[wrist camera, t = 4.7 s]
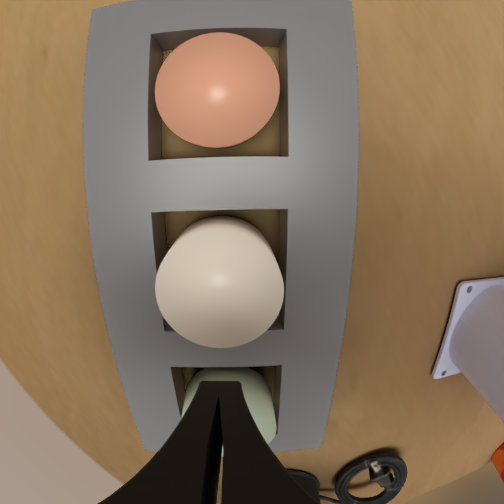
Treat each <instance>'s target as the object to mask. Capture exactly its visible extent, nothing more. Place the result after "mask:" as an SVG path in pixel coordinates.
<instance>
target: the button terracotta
mask: <svg viewBox="0 0 504 504" xmlns="http://www.w3.org/2000/svg"><path fill="white" fill-rule="evenodd" d="M279 93H280V82H279V76H278V72H277V69H276V67H275V65H274V63H273V61H272V59H271V58H270V56H269V55H268V54H267V53H266V52H265V51H264V50H263V49H262V48H261V47H260V46H259V45H258V44H256V43H255V42H253V41H251V40H250V39H248V38H245V37H243V36H240V35H236V34H232V33H224V32H216V33H208V34H203V35H199V36H197V37H194V38H192V39H190V40H187V41H186V42H184V43H183V44H181V45H179V46H178V47H177V48H176V49H175V50H173V52H172V53H171V54H170V55H169V56H168V57H167V58H166V60H165V61H164V63H163V64H162V66H161V68H160V70H159V73H158V75H157V79H156V83H155V101H156V106H157V109H158V111H159V114H160V116H161V118H162V120H163V121H164V122H165V124H166V125H167V126H168V127H169V129H170V130H171V131H172V132H174V133H175V134H176V135H177V136H179V137H180V138H182V139H184V140H186V141H188V142H190V143H193V144H196V145H200V146H203V147H207V148H215V149H222V148H230V147H234V146H237V145H240V144H242V143H244V142H246V141H248V140H249V139H251V138H252V137H253V136H254V135H256V134H257V133H258V132H259V131H260V130H261V129H262V128H263V127H264V125H265V124H266V123H267V122H268V121H269V119H270V118H271V116H272V115H273V113H274V111H275V109H276V106H277V103H278V99H279Z"/></svg>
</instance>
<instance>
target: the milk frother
mask: <svg viewBox="0 0 504 504" xmlns="http://www.w3.org/2000/svg"><path fill="white" fill-rule="evenodd" d="M389 467H390V468H392V469H393V471H394V475H395V477H394V478H393V474H392V473H390V469H389ZM367 468H369V475H370V480H371V481H376V482H377V483H378V484H380V486H381V487H384V488H385V490H384V491H382V492H381V493H380V494H379V495H377V496H374V497H369V498H359V497H355V496H353V495H351V494H350V493H349V492H348V490H347V487H348V484H349V482H350V481H351V480H352V479H353V477H354V476H355V475H357V474H358V473H360V472H361V471H363V470H365V469H367ZM287 471H288V472H289V473H290V475H291V476H292V477H293V478H294V479H295V480H296V481H297V482H298V483H299V484H300V485H301V486H302V487H303V488H304V489H305V490H306V491H307V492H308V493H309V494H310V495H311V496H312V497H313V498H314V499H315V500H317V501H318V502H319V503H320V499H322V500H327V501H330V502H333V503H335V504H386V503H388V502H389V501H391V500H392V499H393V498H394V497H395V496H396V495H397V494H398V493H399V492H400V490H401V489H402V487H403V486H404V483H405V481H406V477H407V467H406V464H405V462H404V461H403V460H402V458H400V457H399V456H397V455H394V454H389V453H384V454H376V455H372V456H368V457H366V458H363V459H361V460H358V461H357V462H355V463H353V464H351V465H350V466H348V467H347V468H345V469H344V470H343V471H342V473H341V474H340V475H339V477H338V478H337V481H336V485H335V493H336V495H337V497H338V499H339V500H340V501H339V500H335V499H332V498H329V497H325V496H321V495H319V492H318V490H319V487H320V485H319V482H318V480H317V479H316V478H315V477H314V476H312V475H310V474H307V473H304V472H300V471H293V470H287Z"/></svg>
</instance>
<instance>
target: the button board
mask: <svg viewBox="0 0 504 504" xmlns="http://www.w3.org/2000/svg"><path fill="white" fill-rule="evenodd" d="M216 32H224V33H232V34H236V35H240V36H243V37H245V38H248V39H250V40H251V41H253V42H255V43H256V44H258V45H259V46H275V47H279V77H280V156H235V157H201V158H180V159H164V160H162V150H161V116H160V114H159V111H158V109H157V106H156V101H155V83H156V79H157V75H158V73H159V70H160V68H161V66H162V55H163V50H172V49H176V48H177V47H178V46H179V45H181V44H183V43H184V42H186V41H187V40H190V39H192V38H194V37H197V36H199V35H203V34H208V33H216ZM83 156H84V177H85V192H86V203H87V214H88V223H89V231H90V239H91V247H92V254H93V260H94V266H95V272H96V278H97V284H98V289H99V294H100V299H101V304H102V309H103V314H104V318H105V322H106V327H107V331H108V335H109V339H110V343H111V347H112V351H113V355H114V358H115V362H116V365H117V369H118V372H119V376H120V379H121V382H122V386H123V389H124V392H125V395H126V398H127V401H128V404H129V407H130V410H131V413H132V416H133V419H134V422H135V424H136V427H137V430H138V432H139V435H140V438H141V440H142V443H143V445H144V448H145V450H148V451H159V450H160V448H161V447H162V446H163V445H164V443H165V442H166V441H167V439H168V438H169V437H170V435H171V434H172V432H173V431H174V429H175V428H176V427H177V425H178V424H179V422H180V420H181V417H182V411H183V405H184V399H185V393H186V392H185V387H184V381H183V375H182V369H181V367H253V366H275V386H274V406H273V407H274V413H275V419H276V427H277V430H276V434H275V436H274V438H273V440H272V441H271V442H270V443H269V444H268V446H269V447H270V449H271V450H272V452H273V453H274V452H287V451H297V450H306V449H314V448H321V446H322V442H323V437H324V433H325V429H326V425H327V420H328V416H329V411H330V406H331V402H332V397H333V392H334V387H335V381H336V376H337V371H338V365H339V359H340V353H341V347H342V341H343V335H344V328H345V321H346V314H347V306H348V298H349V290H350V282H351V272H352V262H353V252H354V240H355V227H356V212H357V193H358V166H359V101H358V74H357V57H356V43H355V31H354V20H353V11H352V2H351V1H350V0H133V1H128V2H123V3H118V4H114V5H109V6H105V7H101V8H97V9H93V10H92V13H91V20H90V27H89V35H88V43H87V53H86V64H85V78H84V98H83ZM239 209H280V227H279V269H280V272H281V275H282V279H283V284H284V297H283V303H282V307H281V309H280V312H279V314H278V316H277V318H276V320H275V321H274V322H273V324H272V325H271V326H270V327H269V328H268V329H267V330H266V331H265V332H264V333H263V334H262V335H260V336H259V337H258V338H256V339H254V340H253V341H250V342H248V343H246V344H243V345H240V346H236V347H230V348H212V347H206V346H202V345H199V344H196V343H194V342H191V341H189V340H187V339H186V338H184V337H182V336H181V335H180V334H178V333H177V332H176V331H175V330H174V329H173V328H172V327H171V326H170V325H169V324H168V323H167V321H166V320H165V318H164V317H163V315H162V313H161V311H160V309H159V306H158V304H157V300H156V295H155V282H156V276H157V272H158V269H159V267H160V264H161V262H162V261H163V259H164V257H165V256H166V254H167V245H166V233H165V218H164V212H170V211H198V210H239Z"/></svg>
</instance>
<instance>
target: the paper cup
mask: <svg viewBox="0 0 504 504" xmlns="http://www.w3.org/2000/svg"><path fill="white" fill-rule="evenodd" d="M491 459H492V462H493V463H494V465H495V467H496V469H497V471H498V473H499V475H500V477H501V478H502V480H503V482H504V443H503V444H502V445H501V446H500V447H499V448H498V449H497V450H496V451H495V452H494V454H493V455H492V457H491Z"/></svg>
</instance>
